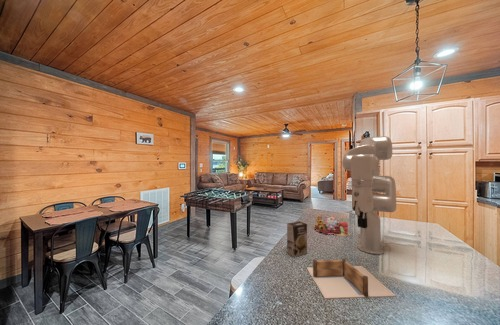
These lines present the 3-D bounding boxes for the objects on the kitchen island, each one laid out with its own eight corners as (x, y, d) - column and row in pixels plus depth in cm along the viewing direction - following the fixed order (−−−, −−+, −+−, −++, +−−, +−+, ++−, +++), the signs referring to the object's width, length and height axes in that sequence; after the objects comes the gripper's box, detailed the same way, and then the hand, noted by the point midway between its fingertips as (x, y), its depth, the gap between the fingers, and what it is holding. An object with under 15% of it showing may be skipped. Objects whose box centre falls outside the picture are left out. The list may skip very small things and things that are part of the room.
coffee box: (294, 257, 97) (294, 226, 98) (286, 252, 103) (286, 223, 103) (307, 253, 102) (307, 223, 102) (299, 249, 107) (299, 220, 108)
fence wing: (344, 277, 80) (344, 260, 80) (347, 276, 80) (347, 260, 80) (365, 297, 68) (365, 278, 68) (369, 296, 68) (368, 277, 68)
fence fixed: (344, 274, 82) (344, 258, 82) (346, 276, 80) (346, 260, 80) (312, 275, 81) (312, 259, 81) (313, 277, 80) (313, 261, 80)
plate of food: (314, 234, 130) (314, 221, 130) (313, 224, 153) (312, 212, 153) (354, 238, 123) (354, 224, 123) (347, 226, 146) (346, 214, 146)
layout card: (361, 266, 88) (361, 265, 88) (395, 296, 68) (395, 295, 68) (306, 268, 87) (306, 267, 87) (325, 299, 67) (324, 297, 67)
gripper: (363, 186, 72) (364, 234, 72) (378, 182, 81) (379, 225, 81) (343, 184, 78) (344, 228, 78) (360, 181, 87) (360, 221, 87)
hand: (362, 227), depth 79 cm, fingers closed
